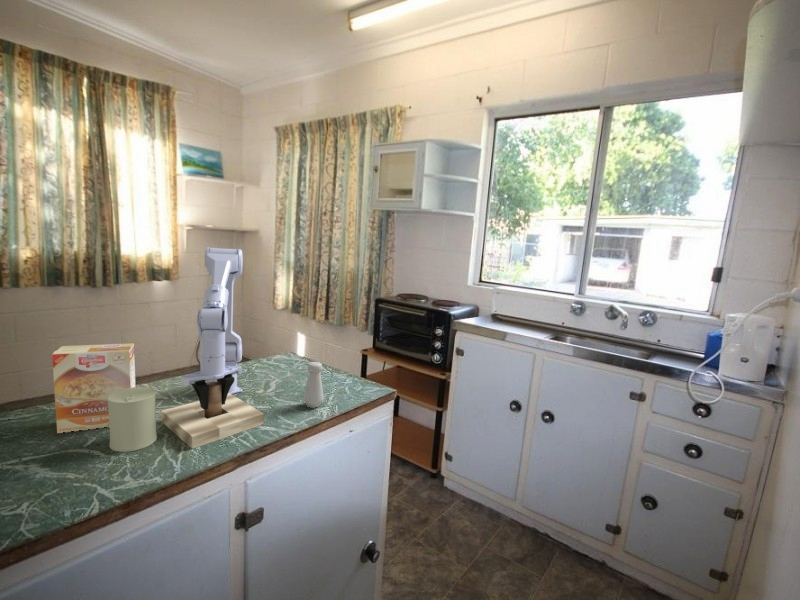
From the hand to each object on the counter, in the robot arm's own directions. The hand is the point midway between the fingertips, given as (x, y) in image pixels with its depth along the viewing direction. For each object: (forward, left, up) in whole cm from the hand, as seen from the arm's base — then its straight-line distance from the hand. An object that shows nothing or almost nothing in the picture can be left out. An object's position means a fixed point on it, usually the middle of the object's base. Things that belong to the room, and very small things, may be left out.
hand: (213, 405), depth 103 cm
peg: (0, 0, -3) cm, 3 cm away
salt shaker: (+8, +26, -5) cm, 28 cm away
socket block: (0, 0, -5) cm, 5 cm away
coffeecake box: (-18, -20, -5) cm, 27 cm away
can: (-3, -17, -5) cm, 18 cm away
